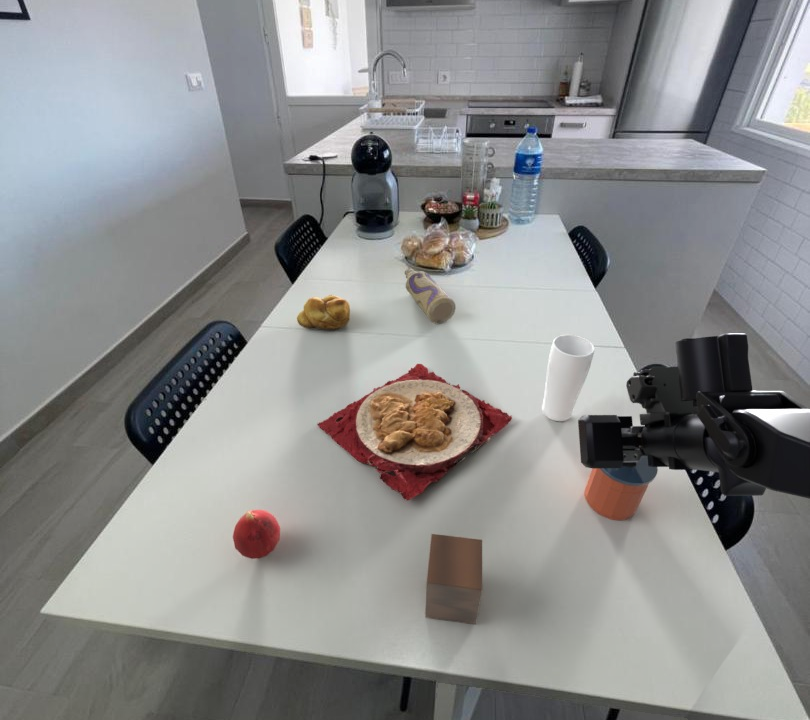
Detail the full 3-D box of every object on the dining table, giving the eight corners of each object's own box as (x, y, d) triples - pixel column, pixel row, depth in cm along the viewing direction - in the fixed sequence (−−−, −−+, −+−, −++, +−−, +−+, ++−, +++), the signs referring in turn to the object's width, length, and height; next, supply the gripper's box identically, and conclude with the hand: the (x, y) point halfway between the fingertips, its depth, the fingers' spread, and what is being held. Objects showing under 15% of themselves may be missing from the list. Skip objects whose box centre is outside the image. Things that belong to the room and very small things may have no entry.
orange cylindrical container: (645, 503, 66) (663, 467, 61) (617, 529, 63) (634, 492, 58) (602, 472, 71) (616, 436, 66) (574, 495, 67) (586, 458, 63)
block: (476, 575, 57) (482, 539, 53) (475, 624, 52) (482, 589, 48) (429, 569, 58) (431, 533, 53) (425, 617, 53) (426, 582, 48)
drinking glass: (579, 408, 83) (599, 341, 74) (569, 430, 78) (589, 361, 70) (543, 396, 86) (559, 330, 77) (532, 416, 81) (546, 348, 73)
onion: (291, 536, 62) (282, 500, 57) (270, 575, 57) (258, 539, 53) (254, 526, 63) (242, 490, 59) (231, 564, 59) (216, 528, 54)
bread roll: (295, 334, 105) (290, 304, 100) (302, 314, 112) (297, 285, 108) (350, 333, 105) (347, 303, 100) (353, 313, 113) (351, 284, 108)
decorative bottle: (456, 321, 109) (458, 296, 105) (427, 326, 107) (428, 302, 103) (420, 278, 129) (421, 256, 125) (396, 282, 127) (395, 260, 123)
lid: (668, 469, 61) (683, 439, 58) (632, 496, 57) (646, 465, 54) (617, 434, 66) (628, 404, 63) (582, 456, 63) (591, 426, 60)
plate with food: (512, 425, 80) (515, 410, 78) (408, 506, 65) (408, 490, 63) (419, 369, 94) (419, 355, 92) (316, 425, 80) (314, 410, 78)
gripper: (780, 364, 47) (688, 381, 63) (604, 365, 47) (555, 382, 63) (796, 472, 45) (697, 462, 61) (612, 473, 45) (560, 463, 61)
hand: (626, 439), depth 61 cm, fingers open, 4 cm apart
